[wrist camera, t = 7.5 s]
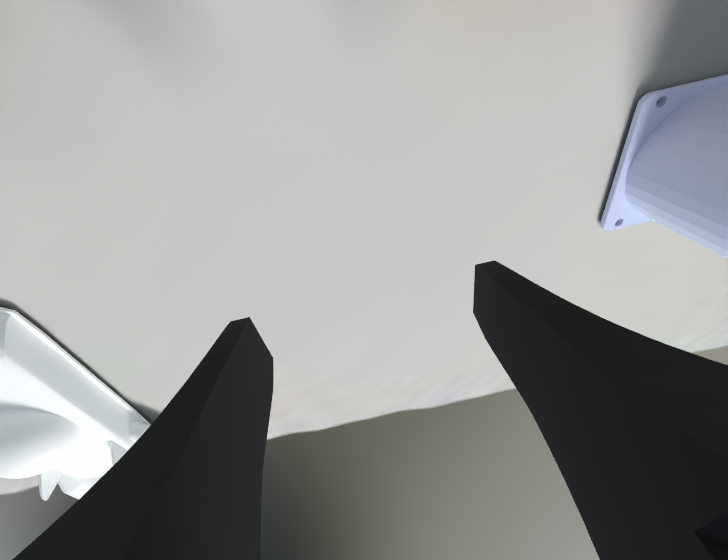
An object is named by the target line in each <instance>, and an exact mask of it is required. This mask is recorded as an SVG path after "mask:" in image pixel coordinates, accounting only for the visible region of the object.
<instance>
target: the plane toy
mask: <svg viewBox="0 0 728 560" xmlns="http://www.w3.org/2000/svg"><path fill="white" fill-rule="evenodd" d="M150 425H151V424H150V423H149V422H148V421H147V420H146V419H145V418H144V417H142V416H141V415H140V414H139V413H138V412H137V411H136V410H135V409H134V408H132V407H131V406H130V405H129V404H128V403H127V402H125V401H124V400H123V399H122V398H121V397H120V396H118V395H117V394H116V393H115V392H114V391H112V390H111V389H110V388H109V387H108V386H107V385H105V384H104V383H103V382H102V381H101V380H99V379H98V378H97V377H96V376H95V375H94V374H92V373H91V372H90V371H89V370H88V369H86V368H85V367H84V366H83V365H82V364H80V363H79V362H78V361H77V360H76V359H75V358H73V357H72V356H71V355H70V354H69V353H67V352H66V351H65V350H64V349H63V348H62V347H60V346H59V345H58V344H57V343H56V342H55V341H53V340H52V339H51V338H50V337H49V336H48V335H46V334H45V333H44V332H43V331H42V330H40V329H39V328H38V327H36V326H35V325H34V324H32V323H31V322H30V321H28V320H27V319H26V318H25V317H23V316H22V315H21V314H19V313H18V312H17V311H15V310H11V309H7V308H3V307H0V477H1V478H8V479H16V478H26V477H31V476H35V475H38V482H39V490H40V495H41V497H42V499H43V500H45V501H46V500H47V499H48V498H49V496H50V494H51V493H52V491H53V489H54V488H55V486H56V484H57V483H58V484H59V486H60V488H61V490H62V491H63V492H64V493H66V494H68V495H70V496H72V497H75V498H77V499H80V498H81V497H82V496H83V495H84V494H85V493H86V492H87V491H88V490H89V489H90V488H91V487H92V486H93V485H94V484H95V483H96V482H97V481H98V480H99V479H100V478H101V477H102V476H103V475H104V474H105V473H106V472H107V471H108V470H109V469H110V468H111V467H112V466H113V465H114V464H115V463H116V462H117V461H118V460H119V459H120V458H121V457H122V456H123V455H124V454H125V453H126V452H127V451H128V450H129V449H130V448H131V447H132V445H133V444H134V443H135V442H136V441H137V440H138V439H139V438H140V437H141V436H142V435H143V433H144V432H145V431H146V430H147V429H148V428H149V427H150Z"/></svg>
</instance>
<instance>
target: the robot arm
mask: <svg viewBox="0 0 728 560" xmlns="http://www.w3.org/2000/svg"><path fill="white" fill-rule="evenodd" d="M659 99H660V101H659V102H658V103H657V101H658V100H659ZM616 221H617V222H616ZM649 221H655V222H657V223H659V224H661V225H663V226H665V227H667V228H669V229H671V230H673V231H675V232H677V233H679V234H680V235H682V236H684V237H686V238H688V239H690V240H692V241H694V242H696V243H698V244H700V245H702V246H704V247H706V248H708V249H710V250H712V251H713V252H715V253H717V254H719V255H721V256H723V257H725V258H727V259H728V74H726V75H721V76H717V77H713V78H709V79H704V80H700V81H696V82H691V83H687V84H683V85H679V86H674V87H670V88H666V89H661V90H657V91H653V92H649V93H647V94H645V95H644V96H643V97H642V98H641V99H640V100H639V102H638V104H637V107H636V110H635V113H634V116H633V120H632V123H631V126H630V129H629V133H628V136H627V139H626V142H625V145H624V149H623V152H622V155H621V158H620V161H619V165H618V168H617V171H616V174H615V177H614V181H613V184H612V187H611V190H610V193H609V197H608V200H607V203H606V206H605V209H604V213H603V216H602V219H601V222H600V227H601V228H602V229H603V230H605V231H610V230H614V229H618V228H623V227H627V226H631V225H636V224H640V223H644V222H649ZM473 313H474V315H475V317H476V319H477V322H478V324H479V326H480V328H481V330H482V332H483V334H484V337H485V339H486V340H487V342H488V344H489V345H490V347H491V349H492V350H493V352H494V353H495V355H496V357H497V358H498V360H499V361H500V363H501V364H502V366H503V368H504V369H505V371H506V372H507V374H508V376H509V377H510V379H511V380H512V382H513V383H514V385H515V387H516V388H517V390H518V391H519V393H520V394H521V396H522V397H523V399H524V401H525V403H526V404H527V406H528V408H529V409H530V411H531V413H532V415H533V416H534V418H535V421H536V422H537V424H538V426H539V428H540V430H541V432H542V434H543V436H544V438H545V440H546V442H547V444H548V446H549V448H550V450H551V452H552V454H553V457H554V458H555V461H556V463H557V464H558V467H559V469H560V471H561V473H562V475H563V477H564V479H565V482H566V484H567V486H568V488H569V490H570V492H571V495H572V497H573V499H574V501H575V504H576V506H577V508H578V510H579V512H580V514H581V517H582V519H583V521H584V523H585V525H586V528H587V530H588V533H589V535H590V537H591V540H592V542H593V545H594V547H595V549H596V552H597V554H598V556H599V558H600V560H728V365H725V364H722V363H719V362H715V361H712V360H709V359H706V358H704V357H701V356H698V355H695V354H692V353H689V352H686V351H684V350H681V349H678V348H675V347H672V346H669V345H667V344H664V343H661V342H659V341H656V340H653V339H651V338H648V337H646V336H643V335H641V334H639V333H636V332H634V331H631V330H629V329H626V328H624V327H622V326H619V325H617V324H615V323H612V322H610V321H608V320H606V319H603V318H601V317H599V316H597V315H595V314H593V313H591V312H589V311H587V310H585V309H582V308H580V307H578V306H576V305H574V304H572V303H570V302H568V301H567V300H565V299H563V298H561V297H559V296H557V295H555V294H553V293H551V292H550V291H548V290H546V289H544V288H542V287H540V286H539V285H537V284H535V283H533V282H532V281H530V280H528V279H526V278H525V277H523V276H521V275H519V274H518V273H516V272H514V271H512V270H511V269H509V268H507V267H505V266H504V265H502V264H500V263H498V262H496V261H490V262H486V263H482V264H477V265H475V283H474V307H473ZM272 394H273V357H272V355H271V354H270V352H269V350H268V348H267V347H266V345H265V343H264V342H263V340H262V338H261V336H260V335H259V333H258V331H257V329H256V328H255V326H254V324H253V322H252V321H251V319H250V317H248V318H244V319H239V320H235V321H231V322H230V323H229V324H228V325H227V327H226V328H225V329H224V331H223V332H222V333H221V335H220V336H219V338H218V339H217V340H216V342H215V343H214V344H213V346H212V347H211V349H210V350H209V351H208V353H207V354H206V356H205V357H204V358H203V360H202V361H201V362H200V364H199V365H198V366H197V368H196V369H195V371H194V372H193V373H192V375H191V376H190V377H189V379H188V380H187V381H186V383H185V384H184V385H183V386H182V388H181V389H180V390H179V391H178V393H177V394H176V395H175V396H174V398H173V399H172V400H171V401H170V403H169V404H168V405H167V406H166V408H165V409H164V410H163V411H162V413H161V414H160V415H159V416H158V417H157V419H156V420H155V421H154V422H153V423H152V424H151V425H150V427H149V428H148V429H147V430H146V431H145V432H144V433H143V435H142V436H141V437H140V438H139V439H138V440H137V441H136V442H135V443H134V444H133V445H132V447H131V448H130V449H129V450H128V451H127V452H126V453H125V454H124V455H123V456H122V457H121V458H120V459H119V460H118V461H117V462H116V463H115V464H114V465H113V466H112V467H111V468H110V469H109V470H108V471H107V472H106V473H105V474H104V475H103V476H102V477H101V478H100V479H99V480H98V481H97V482H96V483H95V484H94V485H93V486H92V487H91V488H90V489H89V490H88V491H87V492H86V493H85V494H84V495H83V496H82V497H81V498H80V499H79V500H78V501H77V502H76V503H75V504H74V505H73V506H72V507H71V508H70V509H68V511H66V512H65V513H64V514H63V515H62V516H61V517H60V518H59V519H58V520H57V521H55V523H53V524H52V525H51V526H50V527H49V528H48V529H47V530H46V531H44V532H43V533H42V534H41V535H40V536H39V537H38V538H36V539H35V540H34V541H33V542H32V543H31V544H30V545H29V546H27V547H26V548H25V549H24V550H23V551H22V552H21V553H20V554H18V555H17V556H16V557H15V558H14V559H13V560H260V537H261V536H260V535H261V533H260V532H261V495H262V472H263V462H264V454H265V447H266V439H267V432H268V425H269V417H270V410H271V402H272Z"/></svg>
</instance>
